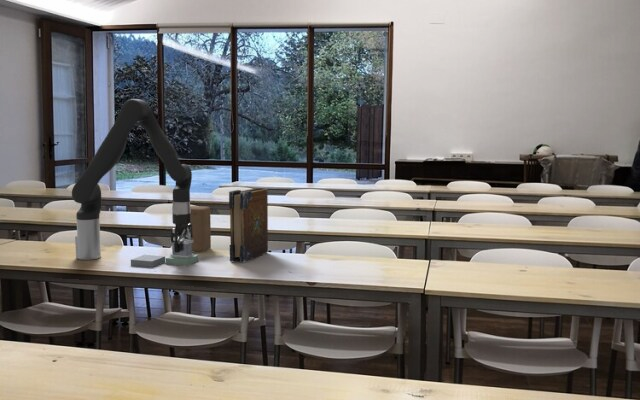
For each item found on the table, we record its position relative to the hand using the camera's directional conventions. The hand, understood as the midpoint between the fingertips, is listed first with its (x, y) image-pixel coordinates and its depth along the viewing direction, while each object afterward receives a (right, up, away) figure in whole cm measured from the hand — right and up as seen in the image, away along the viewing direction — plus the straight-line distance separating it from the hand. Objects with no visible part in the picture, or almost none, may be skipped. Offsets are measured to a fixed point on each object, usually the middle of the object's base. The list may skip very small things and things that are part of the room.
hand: (182, 250), depth 253 cm
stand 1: (-13, -5, -3) cm, 15 cm away
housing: (0, -3, 0) cm, 3 cm away
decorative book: (+27, -4, +13) cm, 30 cm away
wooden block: (+1, -2, +26) cm, 26 cm away
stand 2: (0, -5, +1) cm, 5 cm away
